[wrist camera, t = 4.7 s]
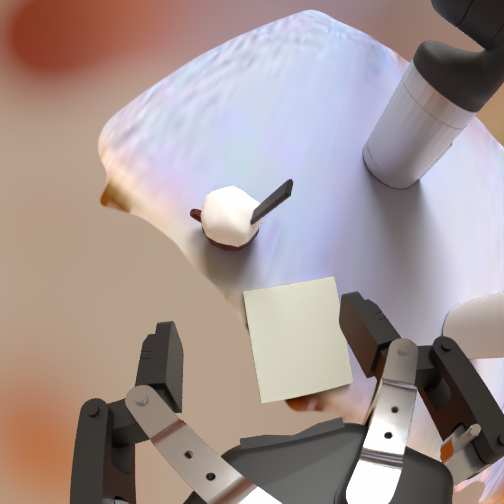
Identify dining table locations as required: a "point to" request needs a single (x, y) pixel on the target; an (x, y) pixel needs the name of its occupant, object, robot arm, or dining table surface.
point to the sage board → (297, 339)
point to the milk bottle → (478, 326)
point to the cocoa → (236, 215)
